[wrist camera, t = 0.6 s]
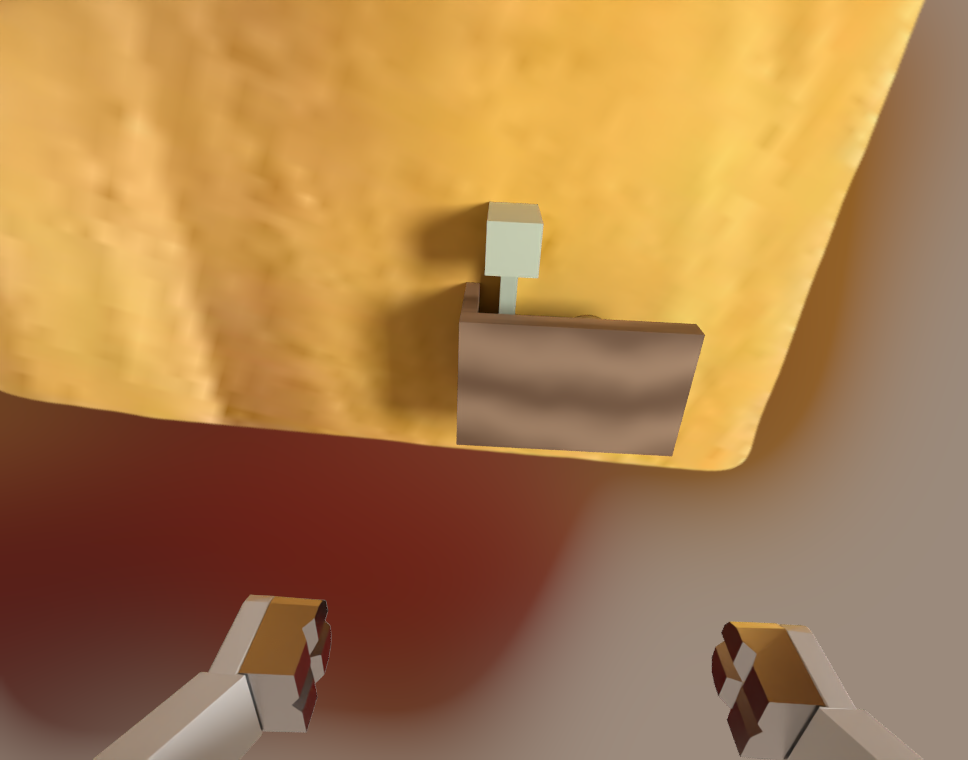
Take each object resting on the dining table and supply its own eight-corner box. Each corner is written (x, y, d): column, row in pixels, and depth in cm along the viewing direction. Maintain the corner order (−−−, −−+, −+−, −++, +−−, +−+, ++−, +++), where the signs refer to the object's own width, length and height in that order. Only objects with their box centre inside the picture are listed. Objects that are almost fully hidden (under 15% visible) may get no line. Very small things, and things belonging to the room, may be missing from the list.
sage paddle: (489, 201, 44) (487, 221, 38) (537, 204, 44) (543, 223, 38) (481, 371, 51) (478, 410, 45) (522, 374, 51) (525, 413, 45)
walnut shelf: (466, 282, 47) (459, 322, 39) (671, 292, 47) (704, 334, 39) (463, 390, 53) (456, 444, 45) (646, 400, 52) (671, 456, 45)
